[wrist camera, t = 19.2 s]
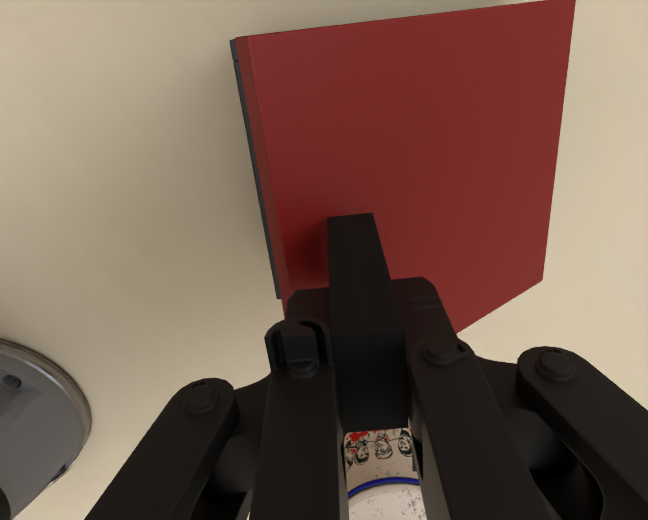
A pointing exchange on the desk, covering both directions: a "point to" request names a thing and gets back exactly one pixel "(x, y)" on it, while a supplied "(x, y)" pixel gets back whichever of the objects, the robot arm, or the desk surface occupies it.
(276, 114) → the red box lid
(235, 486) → the robot arm
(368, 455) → the teacup with lid
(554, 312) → the desk surface
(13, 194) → the desk surface
